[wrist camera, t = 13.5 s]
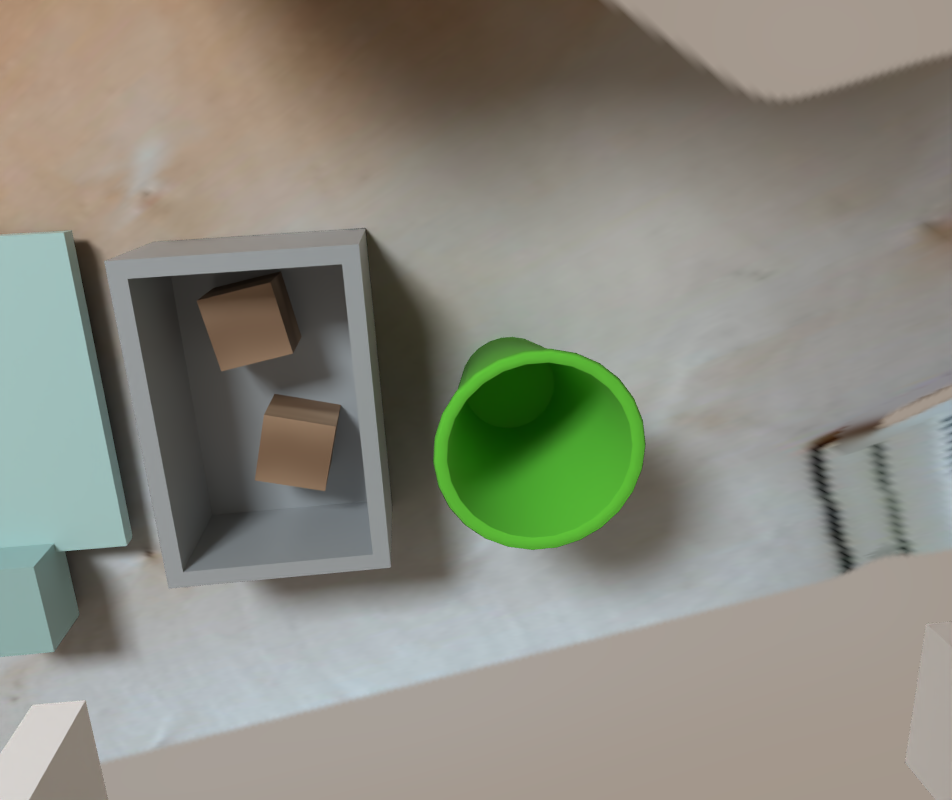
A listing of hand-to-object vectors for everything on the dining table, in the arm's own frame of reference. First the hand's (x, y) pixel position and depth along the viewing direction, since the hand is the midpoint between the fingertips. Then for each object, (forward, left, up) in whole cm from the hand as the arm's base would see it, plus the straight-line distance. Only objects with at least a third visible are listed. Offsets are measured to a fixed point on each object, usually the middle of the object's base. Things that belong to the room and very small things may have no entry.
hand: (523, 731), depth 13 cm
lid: (+5, -23, -32) cm, 40 cm away
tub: (+3, -9, -32) cm, 33 cm away
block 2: (+5, -8, -31) cm, 32 cm away
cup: (+4, +4, -32) cm, 32 cm away
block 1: (-1, -9, -31) cm, 32 cm away
